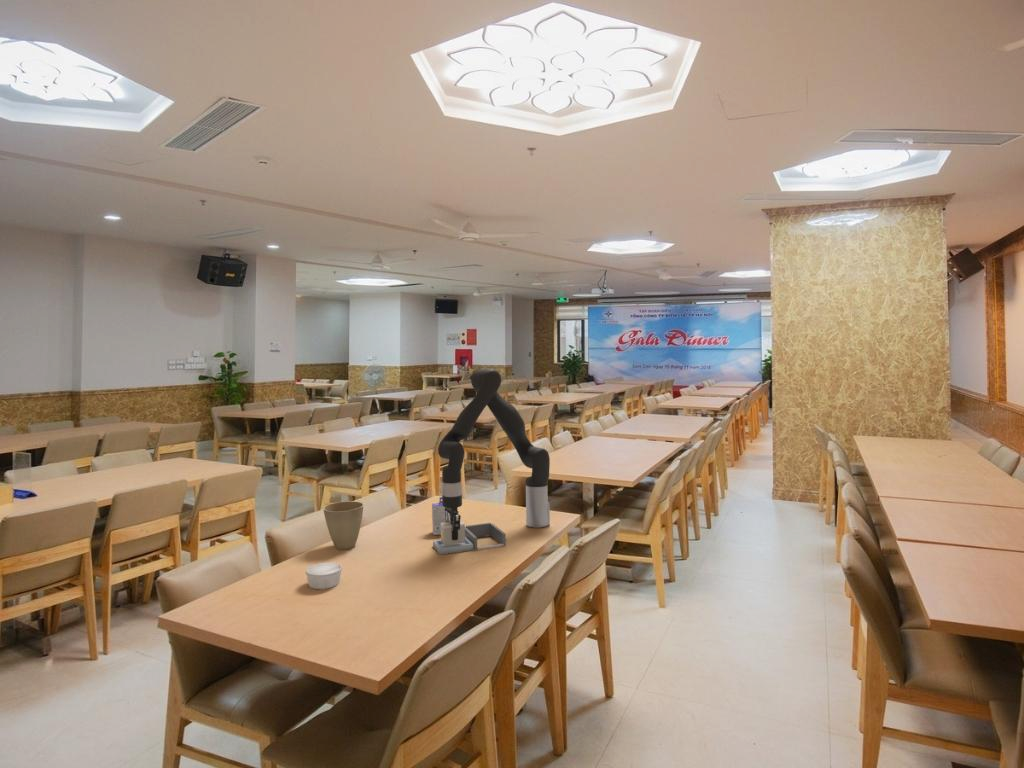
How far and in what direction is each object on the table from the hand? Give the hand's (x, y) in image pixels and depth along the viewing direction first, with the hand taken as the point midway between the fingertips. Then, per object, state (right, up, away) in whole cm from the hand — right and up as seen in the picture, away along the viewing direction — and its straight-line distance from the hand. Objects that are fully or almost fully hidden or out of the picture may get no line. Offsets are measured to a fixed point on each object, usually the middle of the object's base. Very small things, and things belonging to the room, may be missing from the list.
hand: (452, 537), depth 223 cm
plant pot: (-42, -5, +4) cm, 42 cm away
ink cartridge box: (-5, -3, +20) cm, 21 cm away
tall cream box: (0, -2, 0) cm, 2 cm away
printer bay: (+12, -4, +6) cm, 14 cm away
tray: (0, -4, 0) cm, 4 cm away
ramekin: (-38, -7, -32) cm, 51 cm away
